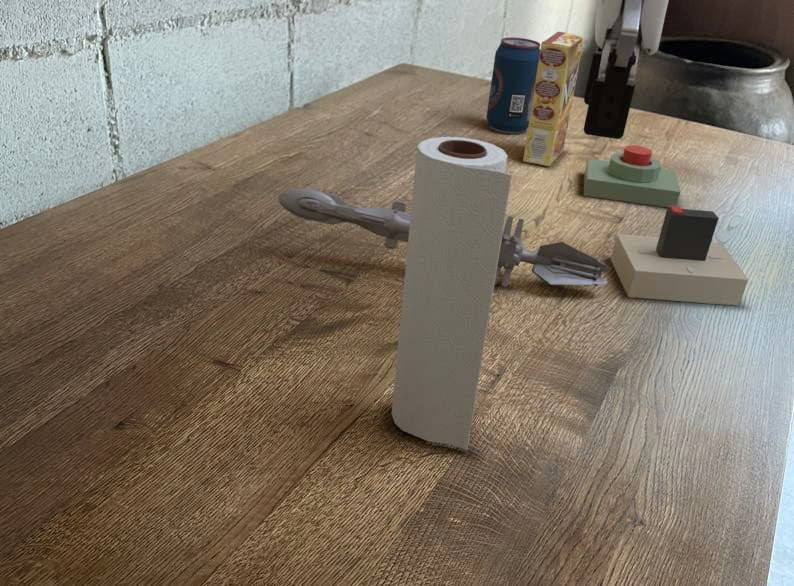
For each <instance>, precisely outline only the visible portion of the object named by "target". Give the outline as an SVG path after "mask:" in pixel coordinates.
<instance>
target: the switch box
mask: <svg viewBox="0 0 794 586" xmlns="http://www.w3.org/2000/svg"><path fill="white" fill-rule="evenodd" d="M623 153H624V152H616V153H613V154H611V155H610V159H609V160H603V159H597V158H596V159H595V158H588V157H587V160H586V162H585V163H586V165H585V168H584V173H583V196H584V197H591V198H597V199H605V200H612V201H618V202H626V203H633V204H640V205H647V206H653V207H661V208H666V209H667V208H670V206H678V203H679V198H680V194H681V189H680V185H679V181H678V175H677V170H675V169H667V168H661V167H662V165H661V161H659V160H658V159H656V158H655V157H652V156H651V160H650V163H649V166H637V165H631V164H628V163H625V162H623V161H622V157H623Z"/></svg>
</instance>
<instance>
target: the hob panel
mask: <svg viewBox="0 0 794 586" xmlns="http://www.w3.org/2000/svg"><path fill="white" fill-rule="evenodd" d="M615 235H616V236H615V239H614V242H613V243H614V244H613V246H612V247H613V248H612V252H611V255H610V261H611V264H612V266H613V268H614V270H615V272H616V274H617V276H618V278H619V281H620V283H621V285H622V287H623V289H624V291H625V294H626V295H627V297H628V298H634V299H645V300H661V301H670V302H671V301H673V302H685V303H697V304H710V305H723V306H737V307H739V306H740V305H741V301H742V298H743V296H744V293H745V290H746V287H747V285H748V282H749V278H748V276H746V273H744V271H743V270H742V269H741V267H740V266H739V265H738V263H737V262H736V260H735V259H734V257H732V254H730V252H729V251H728V250H727V248H726V247H725V245H724V244H723V243H722V242H721V241H711V244H710V247H709V250H708V254H707V257H706V260H694V259H682V258H669V257H660V256H659V254H658V252H657V251H656V247H657V243H658V240H659V236H649V235H636V234H625V233H616V234H615Z"/></svg>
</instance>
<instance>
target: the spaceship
mask: <svg viewBox="0 0 794 586" xmlns="http://www.w3.org/2000/svg"><path fill="white" fill-rule="evenodd" d="M278 202H279V204H280V205H281V206H282V208H284V209H285V210H286V211H287V212H289V213H291V214H292V215H294V216H296V217H298V218H302V219H304V220H308V221H313V222H317V223H322V224H327V225H331V226H333V225H338V224H342V223H349V224H353V225H357V226H359V227H361V228H363V229H364V230H366V231H368V232H369V233H372V234H374V235H376V236H379V237H383V238H385V240H384V242H383V246H385V248H386V249H391V250H394V249H398V246H399V242H403V243H408V238H409V227H410V217H411V213H409V212H406V209H407V206H406V203H405V202H404V201H403V200H398V199H395V200H393V202H392V205H391V208H388V207H384V206H373V207H372V206H370V207H359V206H355V205H351V204H349V203H347V202H346V201H345V200H344V199H342V198H341V197H340V196H338V195H336V194H333V193H328V192H324V191H319V190H316V189H312V188H307V187H292V188H288V189H285V190H283V191H282V192H280V193H279V195H278ZM505 221H506V222H505V223H504V228H503V234H502V240H501V246H500V252H499V259H498V265H497V271H496V277H495V283H494V285H497V283H498V280H499V277H500V274H501V271H502V269H504V271H503V276H502V281H501V286H502V287H505V288H507V287H508V284H509V280H510V278H511V276H512V272H513V271H514V272H515V271H516V270H515V269H514V268H515V267H519V266H520V264H521V263H522V262H523V263H526V264H529V265H532V269H531V273H533V274H534V275H535V276H536V277H537V278H539V279H540V280H541V281H543V282H544V283H545V284H547V285H550V286H587V287H588V286H592V285H594V286H595V287H598V286H599V285H607V284H608V280H607V279H606V278H605V277H602V273H610V272H611V270H612V268H611V267H610V266H608V265H606V264H605V262H604V261H599V259H598V258H595V257H594V256H591V255H590V254H588V253H586V252H584V251H582V250H580V249H578V248H576V247H575V246H572V245H570V244H569V243H567V242H565V241H563V240H562V241H556V242H552V243H547V244H541V245H538V246H537V249H536V251H532V250H527V249H524V248H525V244H524V243H522V240H524V238H523V237H522V232H523V227H524V222H525V220H524V219H522V218H518V220H517V222H516V226H515V229H514V232H513V235H511V232H512V227H513V222H514V217H513V216H510V215H508V216H507V218H506V220H505Z"/></svg>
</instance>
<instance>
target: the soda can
mask: <svg viewBox="0 0 794 586" xmlns="http://www.w3.org/2000/svg"><path fill="white" fill-rule="evenodd" d="M540 49H541V43H540V42H539V41H536V40H533V39H528V38H524V37H523V38H522V37H503V38H502V39H501V40H500V44H499V45H498V47H497V49H496V50H495V54H494V61H493V69H492V75H491V81H490V89H489V96H488V103H487V110H486V121H487V123H488V127H489V128H490V129H491V130H493V131H495V132H499V133H502V134H509V135H518V134H523V133H525V132H526V131H527V130H528V126H529V120H530V113H531V107H532V101H533V94H534V87H535V81H536V74H537V68H538V62H539V56H540Z"/></svg>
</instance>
